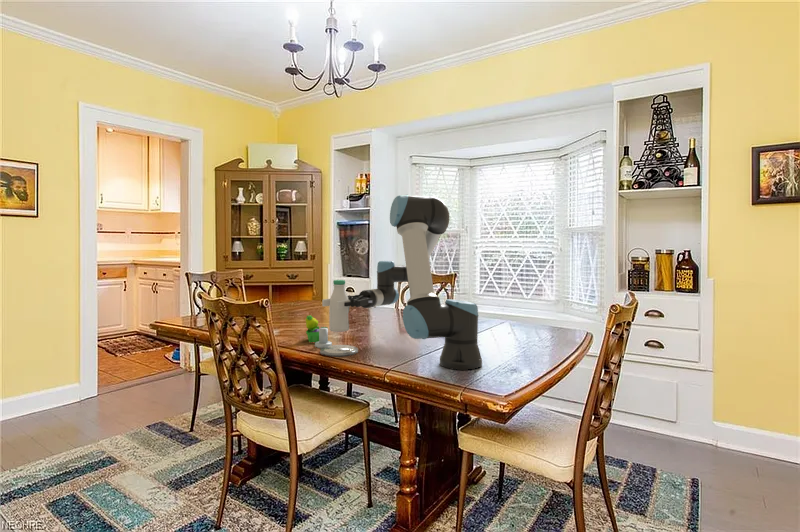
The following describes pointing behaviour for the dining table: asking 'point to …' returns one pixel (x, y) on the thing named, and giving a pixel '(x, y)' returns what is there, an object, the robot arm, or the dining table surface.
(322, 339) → the small pipe fitting
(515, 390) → the dining table surface
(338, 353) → the grey plate
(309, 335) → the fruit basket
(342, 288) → the milk bottle
